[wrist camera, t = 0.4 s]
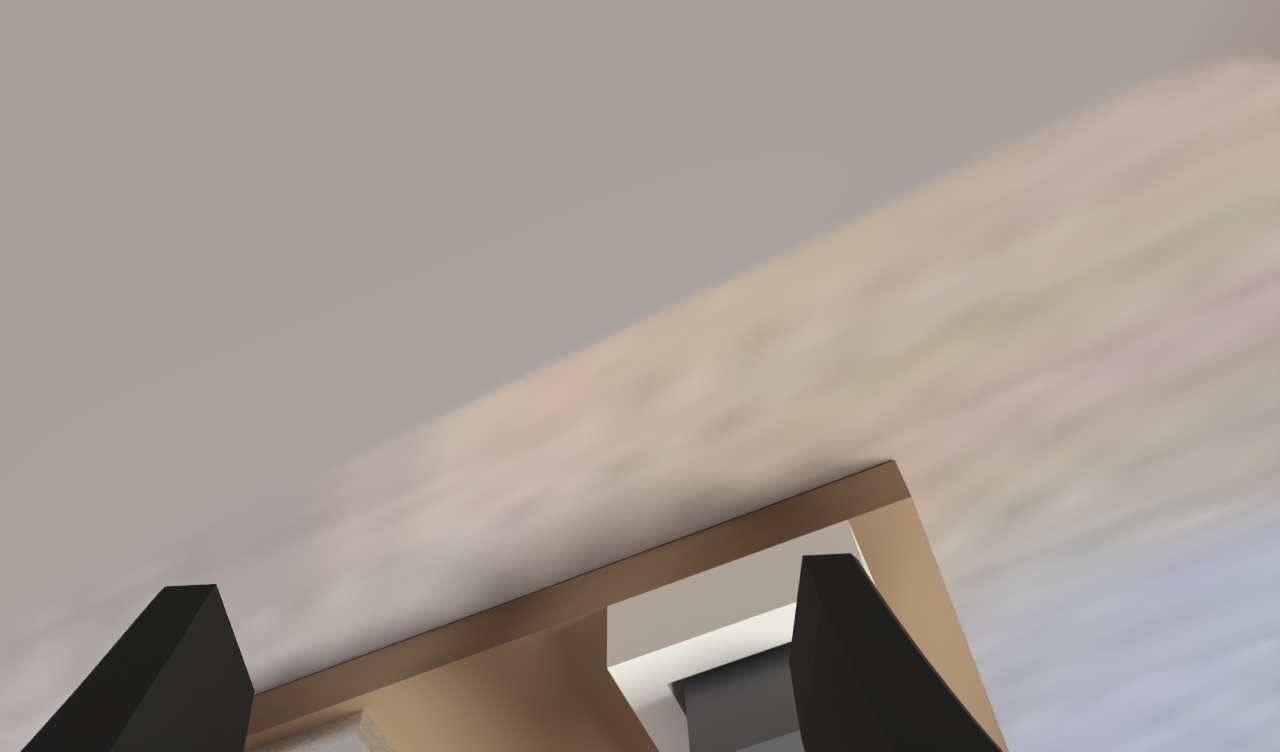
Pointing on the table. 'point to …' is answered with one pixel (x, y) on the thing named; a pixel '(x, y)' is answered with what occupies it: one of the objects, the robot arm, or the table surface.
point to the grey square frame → (335, 737)
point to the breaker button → (744, 706)
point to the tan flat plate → (577, 640)
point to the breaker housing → (708, 627)
